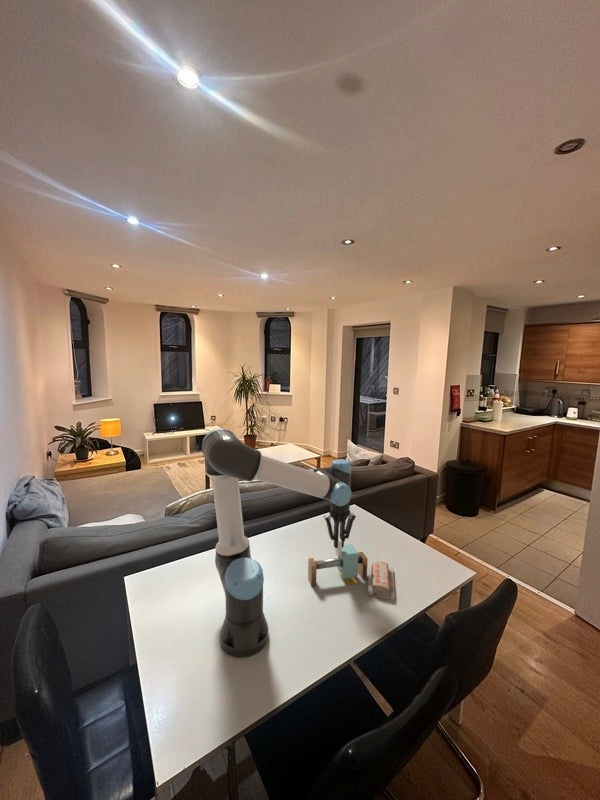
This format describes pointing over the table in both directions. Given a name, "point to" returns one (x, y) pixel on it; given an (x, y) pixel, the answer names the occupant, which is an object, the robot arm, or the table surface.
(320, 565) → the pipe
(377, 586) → the packaged product
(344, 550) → the collar
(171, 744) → the table surface
